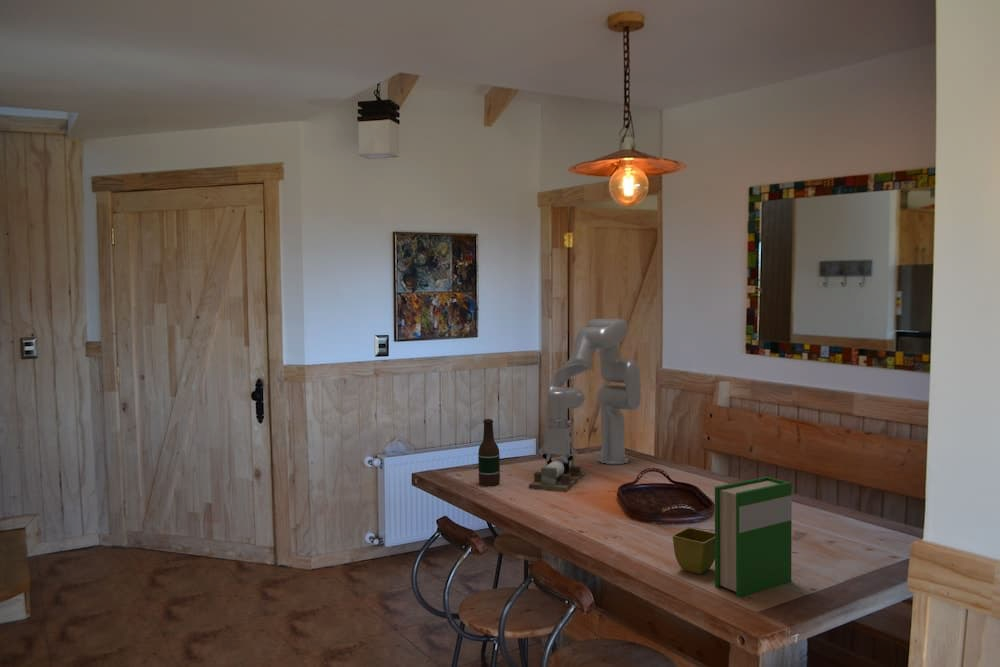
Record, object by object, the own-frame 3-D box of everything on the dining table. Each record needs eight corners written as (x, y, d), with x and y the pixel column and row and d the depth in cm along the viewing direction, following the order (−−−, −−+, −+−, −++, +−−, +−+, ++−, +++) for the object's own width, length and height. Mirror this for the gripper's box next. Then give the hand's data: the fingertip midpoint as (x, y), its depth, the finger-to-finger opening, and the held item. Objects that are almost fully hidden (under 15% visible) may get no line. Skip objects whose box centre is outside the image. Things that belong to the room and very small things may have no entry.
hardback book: (739, 597, 173) (739, 493, 172) (715, 587, 179) (714, 486, 178) (791, 581, 182) (791, 482, 181) (766, 572, 188) (766, 476, 187)
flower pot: (720, 569, 191) (720, 533, 190) (704, 579, 184) (704, 542, 184) (688, 561, 197) (688, 527, 196) (671, 570, 190) (671, 535, 190)
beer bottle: (499, 486, 275) (498, 421, 274) (478, 487, 276) (477, 421, 274) (500, 481, 283) (499, 417, 282) (479, 481, 283) (478, 417, 282)
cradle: (551, 472, 295) (550, 453, 295) (585, 475, 290) (585, 456, 289) (528, 488, 272) (528, 468, 272) (566, 491, 267) (565, 470, 266)
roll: (558, 469, 289) (557, 454, 289) (572, 469, 287) (571, 455, 287) (544, 479, 274) (543, 464, 274) (559, 480, 272) (558, 464, 272)
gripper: (582, 423, 280) (583, 471, 281) (538, 421, 286) (539, 468, 287) (577, 426, 273) (577, 476, 274) (532, 424, 279) (532, 473, 280)
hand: (558, 471), depth 281 cm, fingers closed on roll, 5 cm apart
